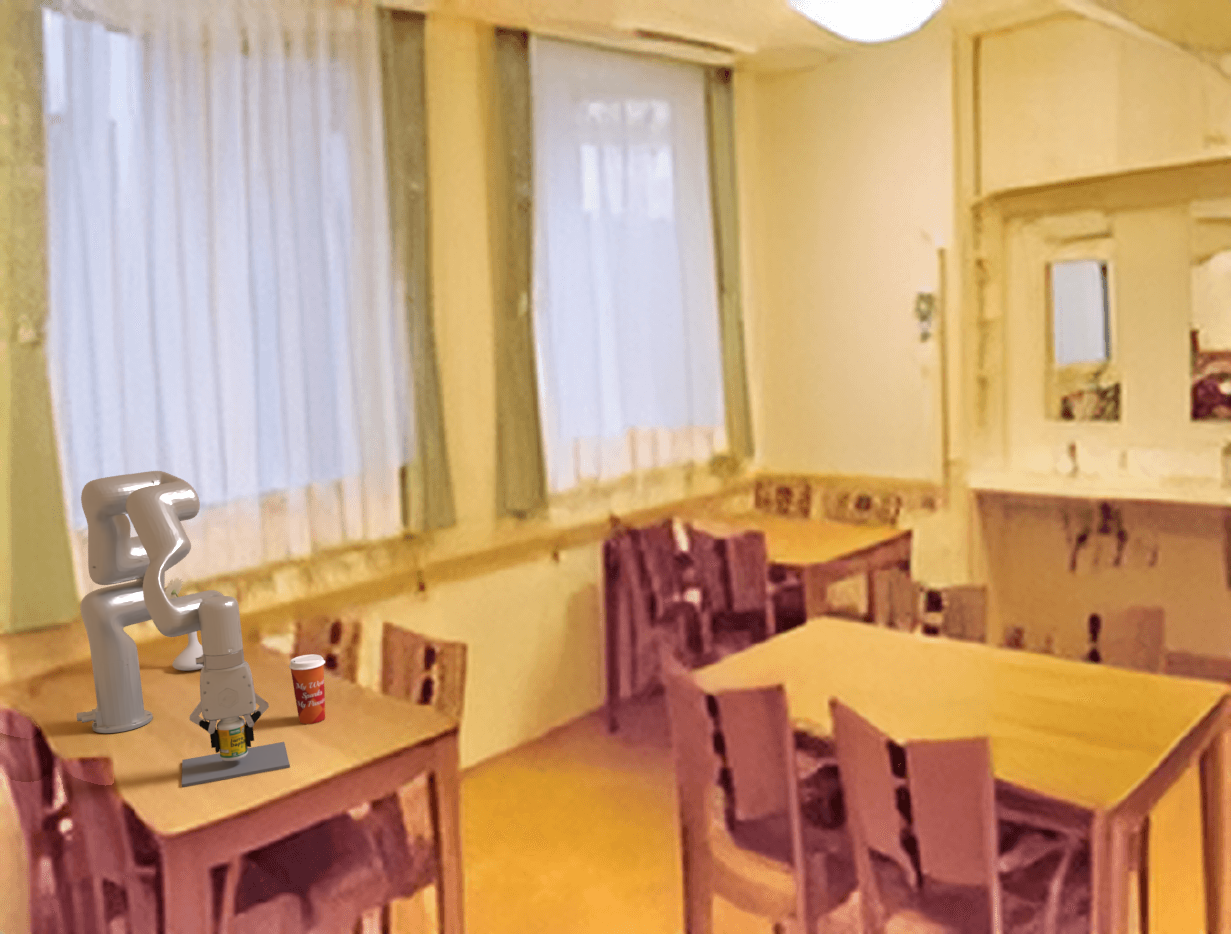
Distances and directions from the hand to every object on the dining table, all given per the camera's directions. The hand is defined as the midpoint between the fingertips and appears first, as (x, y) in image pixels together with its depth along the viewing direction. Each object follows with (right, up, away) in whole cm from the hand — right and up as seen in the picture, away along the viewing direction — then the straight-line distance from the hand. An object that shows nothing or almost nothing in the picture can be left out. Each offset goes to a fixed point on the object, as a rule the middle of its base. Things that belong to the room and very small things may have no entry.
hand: (233, 746), depth 223 cm
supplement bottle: (0, -2, 0) cm, 2 cm away
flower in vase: (-35, +2, +72) cm, 80 cm away
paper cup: (+9, -1, +26) cm, 27 cm away
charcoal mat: (0, -4, +1) cm, 4 cm away
